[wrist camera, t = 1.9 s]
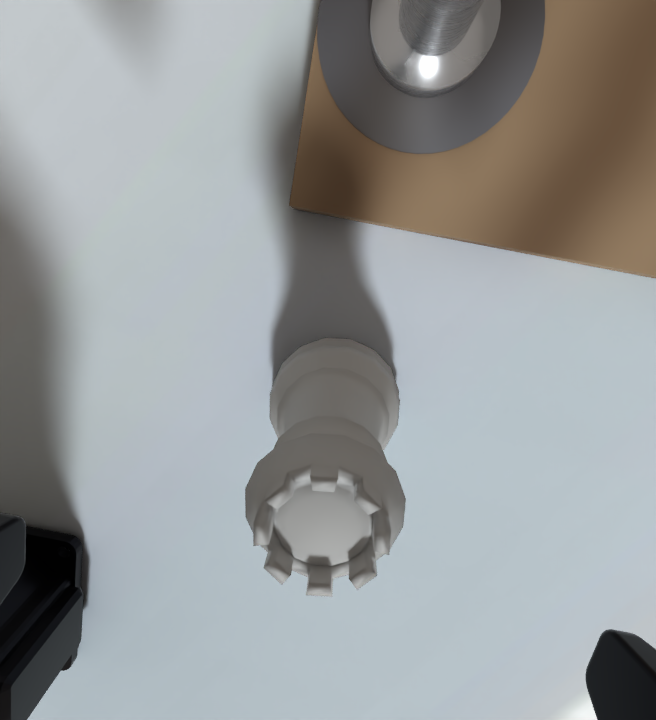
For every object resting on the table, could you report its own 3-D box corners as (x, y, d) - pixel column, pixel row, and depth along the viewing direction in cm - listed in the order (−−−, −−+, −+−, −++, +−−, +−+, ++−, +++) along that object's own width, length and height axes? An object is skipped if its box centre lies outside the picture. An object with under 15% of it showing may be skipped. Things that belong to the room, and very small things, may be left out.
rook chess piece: (379, 464, 16) (406, 662, 8) (262, 436, 16) (182, 608, 8) (413, 351, 15) (480, 458, 7) (287, 320, 15) (222, 395, 7)
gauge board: (294, 209, 14) (288, 205, 13) (355, -180, 12) (356, -233, 10) (779, 301, 14) (821, 307, 13) (945, -68, 12) (1017, -106, 10)
